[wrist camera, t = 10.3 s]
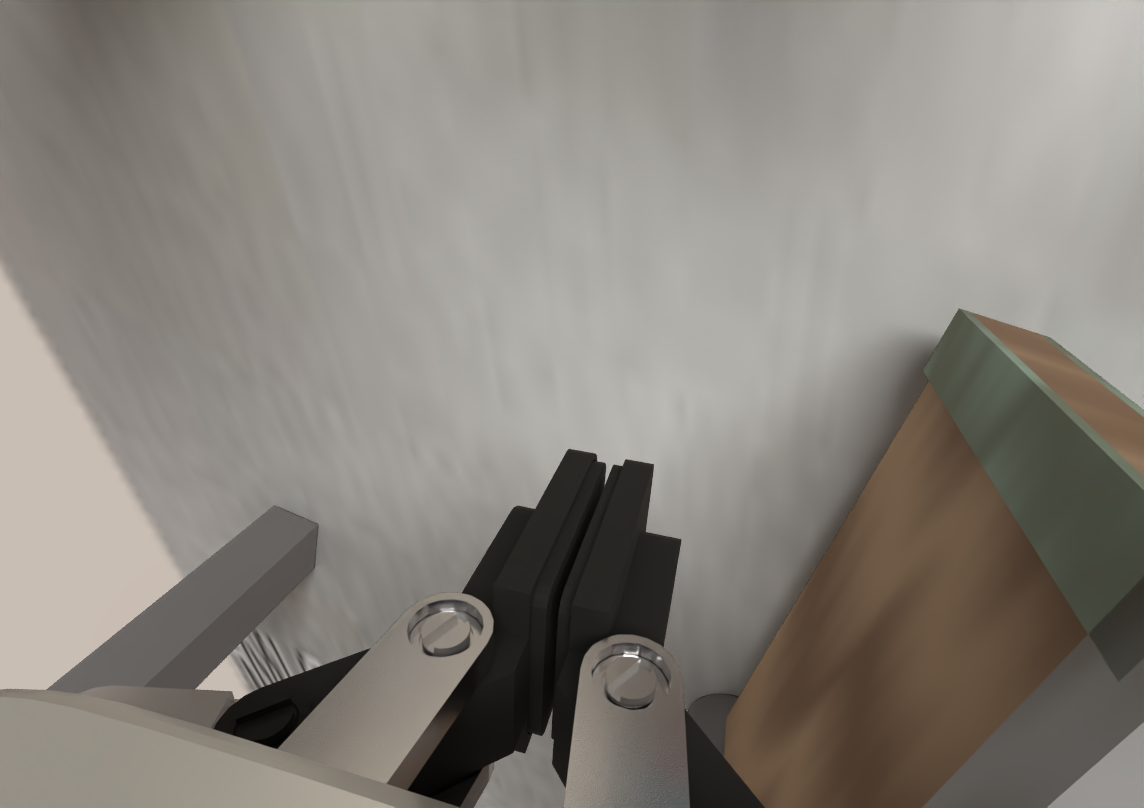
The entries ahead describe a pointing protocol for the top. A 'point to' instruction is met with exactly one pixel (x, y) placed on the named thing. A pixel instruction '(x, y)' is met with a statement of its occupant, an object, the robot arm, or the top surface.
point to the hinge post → (713, 716)
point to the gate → (971, 604)
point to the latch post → (204, 611)
